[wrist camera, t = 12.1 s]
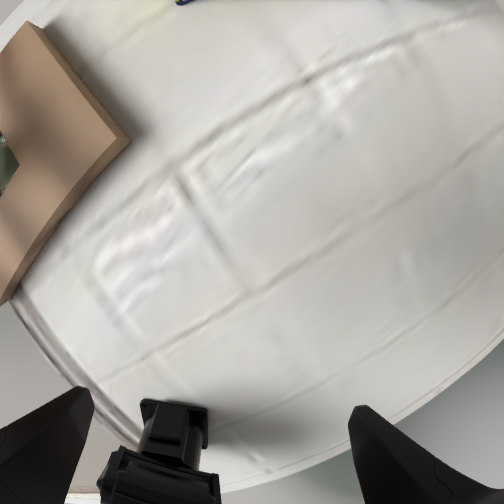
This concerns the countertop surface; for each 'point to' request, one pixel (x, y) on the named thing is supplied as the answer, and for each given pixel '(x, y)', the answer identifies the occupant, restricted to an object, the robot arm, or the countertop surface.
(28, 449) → the robot arm
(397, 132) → the countertop surface
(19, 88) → the hole plate
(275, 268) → the countertop surface
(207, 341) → the countertop surface
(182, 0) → the supplement box
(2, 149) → the peg
